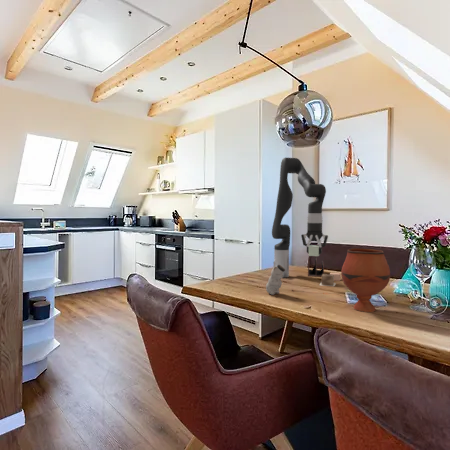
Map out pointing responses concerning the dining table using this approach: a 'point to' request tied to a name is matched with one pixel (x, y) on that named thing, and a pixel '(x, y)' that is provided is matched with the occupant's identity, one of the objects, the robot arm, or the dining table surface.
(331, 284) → the walnut block
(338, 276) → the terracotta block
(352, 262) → the goblet
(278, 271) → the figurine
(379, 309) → the dining table surface
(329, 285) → the build plate
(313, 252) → the sage block
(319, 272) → the letter holder
